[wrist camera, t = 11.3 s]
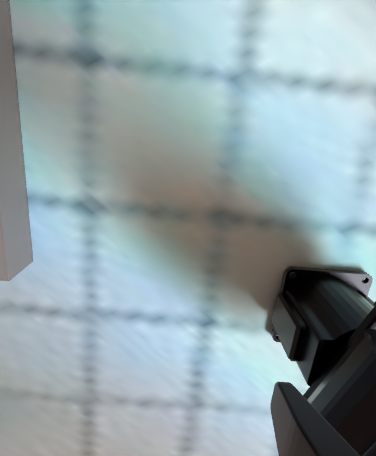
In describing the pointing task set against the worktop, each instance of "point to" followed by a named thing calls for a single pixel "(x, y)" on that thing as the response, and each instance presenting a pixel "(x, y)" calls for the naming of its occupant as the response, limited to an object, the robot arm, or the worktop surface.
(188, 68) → the worktop surface
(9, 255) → the dock
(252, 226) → the worktop surface
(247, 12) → the worktop surface
